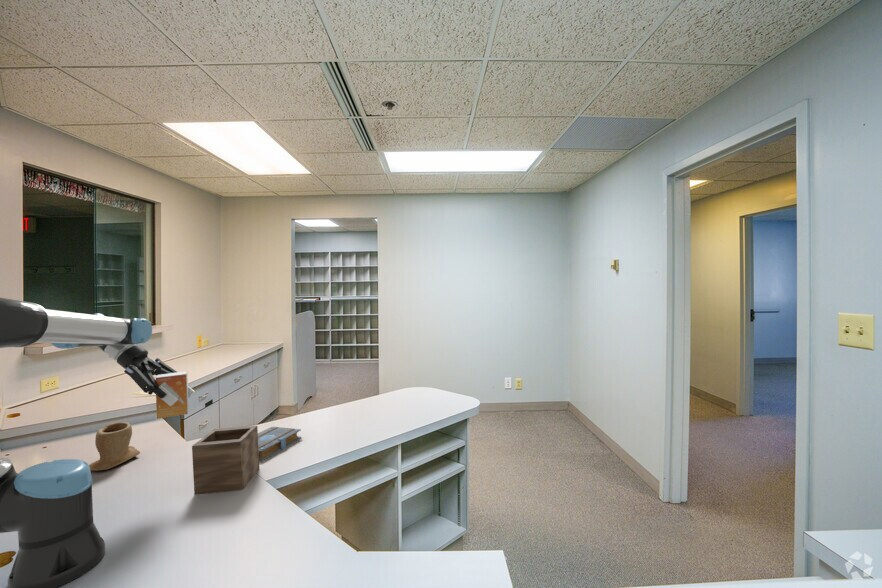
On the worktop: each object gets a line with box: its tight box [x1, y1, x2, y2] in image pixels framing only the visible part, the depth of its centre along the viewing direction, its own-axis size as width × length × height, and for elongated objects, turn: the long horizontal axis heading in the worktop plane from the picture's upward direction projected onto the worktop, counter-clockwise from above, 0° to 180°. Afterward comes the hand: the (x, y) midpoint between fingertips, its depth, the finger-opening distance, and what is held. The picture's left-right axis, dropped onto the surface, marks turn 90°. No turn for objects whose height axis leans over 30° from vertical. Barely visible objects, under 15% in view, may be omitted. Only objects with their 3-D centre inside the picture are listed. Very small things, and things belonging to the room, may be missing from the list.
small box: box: [155, 371, 189, 420], centre depth 118 cm, size 8×6×13 cm
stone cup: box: [88, 421, 141, 472], centre depth 137 cm, size 15×12×15 cm
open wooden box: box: [191, 425, 260, 496], centre depth 120 cm, size 14×14×15 cm
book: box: [258, 426, 302, 462], centre depth 146 cm, size 21×16×5 cm
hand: (183, 398), depth 119 cm, fingers closed on small box, 9 cm apart
